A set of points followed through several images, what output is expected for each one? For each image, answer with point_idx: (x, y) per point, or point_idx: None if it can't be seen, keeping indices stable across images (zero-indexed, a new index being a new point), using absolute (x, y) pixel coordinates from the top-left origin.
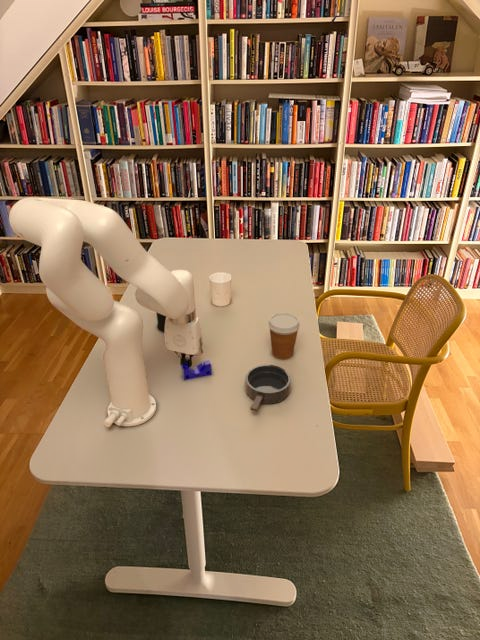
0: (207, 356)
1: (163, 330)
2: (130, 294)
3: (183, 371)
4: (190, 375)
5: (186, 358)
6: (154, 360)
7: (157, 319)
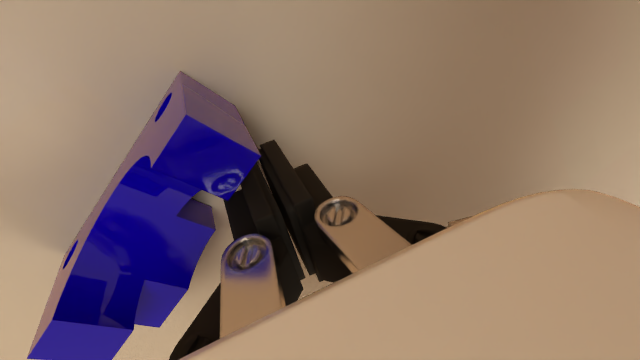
0: None
1: None
2: None
3: (185, 102)
4: (147, 134)
5: (262, 245)
6: (485, 101)
7: None
